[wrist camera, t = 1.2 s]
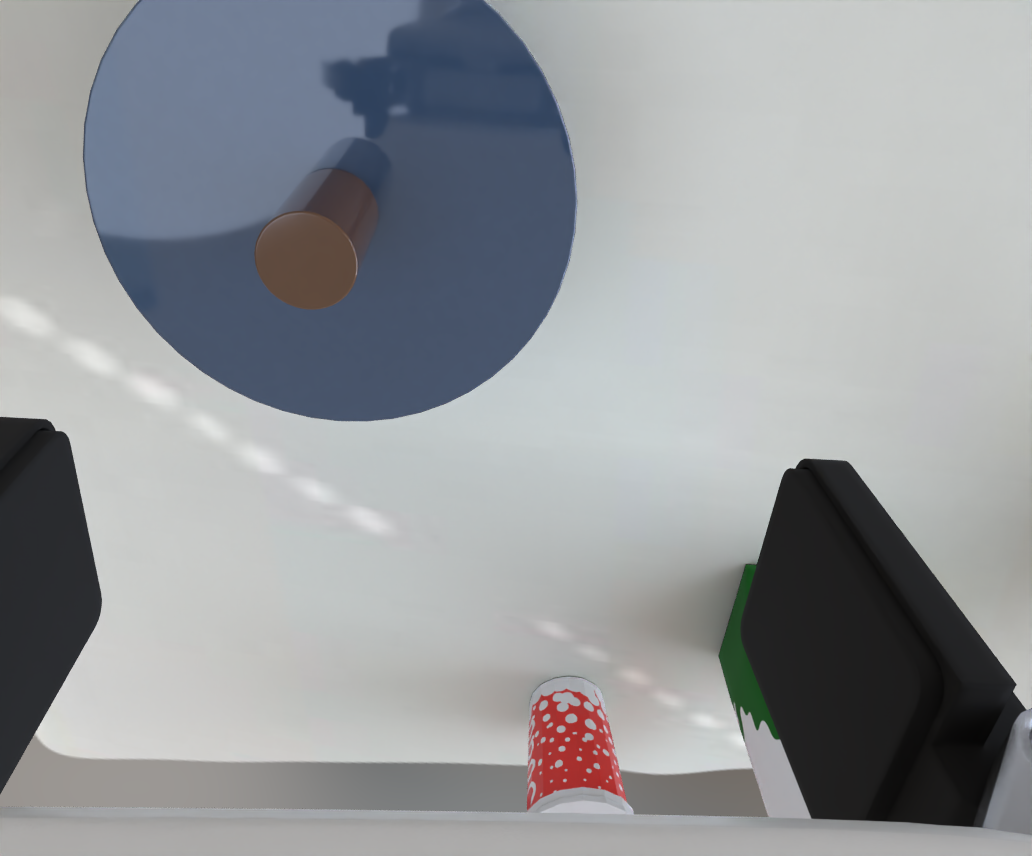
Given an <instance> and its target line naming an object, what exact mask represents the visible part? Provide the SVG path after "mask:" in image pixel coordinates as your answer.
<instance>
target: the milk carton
mask: <svg viewBox="0 0 1032 856" xmlns="http://www.w3.org/2000/svg"><path fill="white" fill-rule="evenodd" d="M756 566H757V565H748V564H746V566H745V569H744V573H743V576H742V579H741V583H740V586H739V589H738V593H737V596H736V599H735V603H734V606H733V609H732V613H731V616H730V619H729V623H728V626H727V629H726V633H725V636H724V639H723V643H722V646H721V649H720V653H719V659H720V663H721V666H722V670H723V673H724V677H725V681H726V684H727V688H728V691H729V695H730V698H731V702H732V705H733V708H734V711H735V714H736V717H737V720H738V723H739V726H740V730H741V733H742V736H743V739H744V742H745V745H746V748H747V751H748V755H749V758H750V761H751V764H752V767H753V770H754V773H755V776H756V780H757V783H758V786H759V789H760V792H761V795H762V798H763V802H764V805H765V808H766V811H767V814H768V817H775V818H802V819H811V816H810V814H809V811H808V809H807V806H806V804H805V801H804V799H803V796H802V794H801V791H800V789H799V786H798V784H797V781H796V779H795V776H794V774H793V771H792V768H791V766H790V763H789V761H788V758H787V756H786V753H785V751H784V748H783V746H782V743H781V741H780V738H779V736H778V733H777V731H776V728H775V726H774V723H773V720H772V718H771V715H770V713H769V710H768V708H767V705H766V703H765V700H764V698H763V695H762V693H761V690H760V688H759V685H758V683H757V680H756V678H755V675H754V673H753V670H752V667H751V665H750V662H749V660H748V657H747V655H746V652H745V650H744V647H743V644H742V640H741V631H740V626H741V618H742V614H743V611H744V607H745V604H746V600H747V597H748V594H749V590H750V587H751V583H752V580H753V576H754V573H755V569H756Z"/></svg>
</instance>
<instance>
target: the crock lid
mask: <svg viewBox="0 0 1032 856" xmlns="http://www.w3.org/2000/svg"><path fill="white" fill-rule="evenodd" d="M83 162H84V172H85V182H86V191H87V196H88V200H89V204H90V209H91V213H92V217H93V222H94V225H95V227H96V230H97V233H98V236H99V238H100V241H101V244H102V247H103V249H104V252H105V254H106V256H107V258H108V260H109V262H110V264H111V266H112V268H113V270H114V272H115V274H116V276H117V278H118V280H119V282H120V283H121V285H122V286H123V288H124V289H125V291H126V292H127V294H128V295H129V297H130V298H131V300H132V302H133V303H134V305H135V306H136V308H137V309H138V310H139V311H140V312H141V314H142V315H143V316H144V317H145V319H146V320H147V321H148V322H149V323H150V325H151V326H152V327H153V328H154V329H155V331H156V332H157V333H158V334H159V335H160V336H161V337H162V338H163V339H164V340H165V341H167V342H168V343H169V344H170V345H171V346H172V347H173V348H174V349H175V350H176V351H177V352H178V353H179V354H180V355H181V356H183V357H184V358H185V359H187V360H188V361H189V362H190V363H192V364H193V365H194V366H196V367H197V368H198V369H199V370H201V371H202V372H203V373H205V374H207V375H208V376H210V377H211V378H213V379H215V380H216V381H218V382H219V383H221V384H223V385H224V386H226V387H228V388H229V389H231V390H233V391H235V392H238V393H240V394H242V395H244V396H246V397H248V398H250V399H252V400H254V401H257V402H259V403H262V404H265V405H268V406H271V407H273V408H276V409H279V410H282V411H286V412H290V413H294V414H298V415H302V416H306V417H311V418H319V419H327V420H335V421H374V420H384V419H394V418H398V417H403V416H407V415H412V414H416V413H421V412H423V411H426V410H429V409H432V408H435V407H438V406H440V405H443V404H446V403H448V402H450V401H452V400H454V399H456V398H458V397H460V396H462V395H464V394H466V393H468V392H470V391H472V390H473V389H475V388H476V387H478V386H479V385H481V384H482V383H484V382H485V381H487V380H488V379H490V378H491V377H493V376H494V375H495V374H496V373H497V372H498V371H500V370H501V369H502V368H503V367H504V366H505V365H506V364H508V363H509V362H510V361H511V360H512V359H513V358H514V357H515V356H516V355H517V354H518V353H519V352H520V350H521V349H522V348H523V347H524V346H525V345H526V344H527V343H528V341H529V340H530V339H531V338H532V337H533V335H534V334H535V332H536V331H537V329H538V328H539V326H540V325H541V323H542V322H543V320H544V319H545V317H546V316H547V314H548V312H549V310H550V308H551V306H552V304H553V302H554V300H555V298H556V296H557V294H558V292H559V290H560V287H561V285H562V282H563V279H564V276H565V273H566V270H567V267H568V264H569V261H570V256H571V251H572V246H573V241H574V236H575V229H576V214H577V187H576V171H575V165H574V160H573V155H572V149H571V144H570V139H569V135H568V132H567V129H566V126H565V123H564V120H563V117H562V114H561V111H560V108H559V105H558V102H557V100H556V98H555V96H554V94H553V92H552V90H551V88H550V86H549V84H548V82H547V79H546V77H545V75H544V73H543V71H542V69H541V68H540V66H539V65H538V63H537V62H536V60H535V59H534V57H533V56H532V54H531V52H530V51H529V49H528V48H527V46H526V45H525V43H524V42H523V40H522V39H521V38H520V37H519V35H518V34H517V33H516V32H515V31H514V30H513V28H512V27H511V26H510V25H509V24H508V23H507V21H506V20H505V19H504V18H503V17H502V16H501V14H500V13H499V12H498V11H497V10H496V9H495V8H493V7H492V6H491V5H490V4H489V3H488V2H487V1H486V0H139V1H138V2H137V3H136V4H135V6H134V7H133V8H132V10H131V11H130V12H129V14H128V15H127V16H126V18H125V19H124V20H123V22H122V23H121V24H120V26H119V27H118V28H117V30H116V32H115V34H114V36H113V37H112V39H111V41H110V43H109V45H108V47H107V49H106V51H105V53H104V55H103V57H102V58H101V61H100V64H99V67H98V70H97V73H96V76H95V79H94V82H93V84H92V87H91V90H90V95H89V101H88V106H87V112H86V117H85V123H84V146H83Z"/></svg>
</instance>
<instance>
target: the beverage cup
mask: <svg viewBox="0 0 1032 856" xmlns="http://www.w3.org/2000/svg"><path fill="white" fill-rule="evenodd" d="M527 812H528V813H583V814H632V815H634V812H633V809H632V808H631V807H630V806H629V804H628V803H627V801H626V797H625V792H624V788H623V784H622V779H621V775H620V770H619V766H618V761H617V757H616V753H615V748H614V744H613V740H612V735H611V731H610V726H609V722H608V718H607V713H606V709H605V705H604V700H603V696H602V692H601V691H600V690H599V689H598V688H597V686H596V685H595V684H593V683H591V682H589V681H587V680H585V679H583V678H577V677H570V676H567V677H560V678H554V679H552V680H550V681H547V682H545V683H543V684H541V685H540V686H539V687H538V688H537V689H536V690H535V691H534V692H533V694H532V697H531V700H530V705H529V748H528V792H527Z"/></svg>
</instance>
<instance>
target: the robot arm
mask: <svg viewBox="0 0 1032 856" xmlns="http://www.w3.org/2000/svg"><path fill="white" fill-rule="evenodd" d="M101 606H102V598H101V591H100V586H99V581H98V576H97V571H96V567H95V562H94V557H93V552H92V547H91V542H90V537H89V533H88V528H87V523H86V518H85V513H84V508H83V503H82V498H81V494H80V489H79V484H78V479H77V474H76V469H75V464H74V460H73V455H72V450H71V445H70V441H69V438H68V436H67V435H66V434H65V433H64V432H61V431H55V428H54V426H53V425H52V423H51V422H50V421H48V420H46V419H29V418H10V417H0V794H1V792H2V790H3V788H4V787H5V785H6V783H7V781H8V780H9V778H10V776H11V774H12V773H13V771H14V769H15V767H16V766H17V764H18V762H19V760H20V759H21V757H22V755H23V753H24V751H25V750H26V748H27V746H28V744H29V743H30V741H31V739H32V737H33V736H34V734H35V732H36V730H37V729H38V727H39V725H40V723H41V722H42V720H43V718H44V716H45V714H46V713H47V711H48V709H49V707H50V706H51V704H52V702H53V700H54V699H55V697H56V695H57V693H58V692H59V690H60V688H61V686H62V685H63V683H64V681H65V679H66V678H67V676H68V674H69V672H70V670H71V669H72V667H73V665H74V663H75V662H76V660H77V658H78V656H79V655H80V653H81V651H82V649H83V648H84V646H85V644H86V642H87V641H88V639H89V637H90V635H91V634H92V632H93V630H94V628H95V626H96V624H97V622H98V620H99V616H100V612H101ZM740 631H741V640H742V644H743V647H744V650H745V652H746V655H747V657H748V660H749V662H750V665H751V667H752V670H753V673H754V675H755V678H756V680H757V683H758V685H759V688H760V690H761V693H762V695H763V698H764V700H765V703H766V705H767V708H768V710H769V713H770V715H771V718H772V720H773V723H774V726H775V728H776V731H777V733H778V736H779V738H780V741H781V743H782V746H783V748H784V751H785V753H786V756H787V758H788V761H789V763H790V766H791V768H792V771H793V774H794V776H795V779H796V781H797V784H798V786H799V789H800V791H801V794H802V796H803V799H804V801H805V804H806V806H807V809H808V811H809V814H810V816H811V819H802V818H775V817H731V816H730V817H729V816H681V815H679V816H678V815H632V814H583V813H528V812H464V811H463V812H462V811H457V812H456V811H398V810H394V811H393V810H324V809H323V810H322V809H243V808H239V809H238V808H230V809H229V808H134V807H132V808H130V807H0V856H1032V708H1031V709H1029V710H1026V709H1025V707H1024V706H1023V705H1022V703H1021V702H1020V701H1019V699H1018V698H1017V697H1016V695H1015V694H1014V693H1013V690H1014V688H1015V686H1016V683H1015V682H1014V680H1013V679H1012V678H1011V676H1010V675H1009V674H1008V672H1007V671H1006V670H1005V668H1004V667H1003V666H1002V665H1001V663H1000V662H999V661H998V659H997V658H996V657H995V655H994V654H993V653H992V651H991V650H990V649H989V647H988V646H987V645H986V643H985V642H984V641H983V639H982V638H981V637H980V635H979V634H978V633H977V631H976V630H975V629H974V627H973V626H972V625H971V623H970V622H969V621H968V619H967V618H966V617H965V615H964V614H963V613H962V611H961V610H960V609H959V607H958V606H957V605H956V603H955V602H954V601H953V600H952V598H951V597H950V596H949V594H948V593H947V592H946V590H945V589H944V588H943V586H942V585H941V584H940V582H939V581H938V580H937V578H936V577H935V576H934V574H933V573H932V572H931V570H930V569H929V568H928V566H927V565H926V564H925V562H924V561H923V560H922V558H921V557H920V556H919V554H918V553H917V552H916V550H915V549H914V548H913V546H912V545H911V544H910V542H909V541H908V540H907V538H906V537H905V536H904V535H903V533H902V532H901V531H900V529H899V528H898V527H897V525H896V524H895V523H894V521H893V520H892V519H891V517H890V516H889V515H888V513H887V512H886V511H885V509H884V508H883V507H882V505H881V504H880V503H879V501H878V500H877V499H876V497H875V496H874V495H873V493H872V492H871V491H870V489H869V488H868V487H867V485H866V484H865V483H864V481H863V480H862V479H861V477H860V476H859V475H858V473H857V472H856V471H855V469H854V468H853V467H852V466H851V465H850V464H849V463H848V462H847V461H840V460H821V459H803V460H801V461H800V462H799V464H798V465H797V467H796V469H791V468H789V469H788V470H786V471H785V473H784V475H783V477H782V480H781V483H780V487H779V490H778V494H777V497H776V501H775V504H774V508H773V511H772V514H771V518H770V521H769V525H768V528H767V532H766V535H765V538H764V542H763V545H762V549H761V552H760V556H759V559H758V563H757V566H756V569H755V573H754V576H753V580H752V583H751V587H750V590H749V594H748V597H747V600H746V604H745V607H744V611H743V614H742V618H741V626H740Z"/></svg>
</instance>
